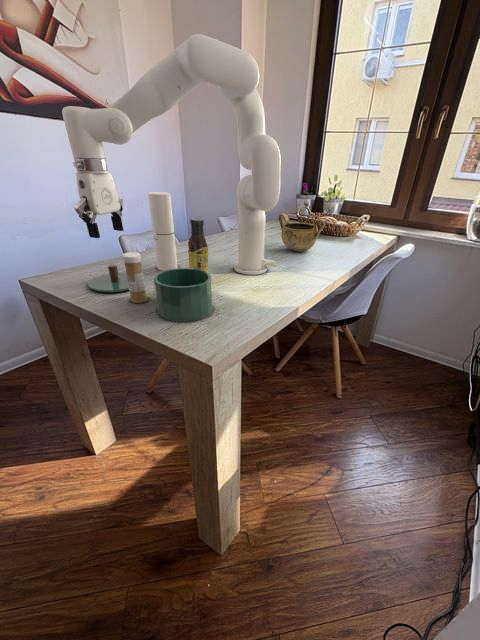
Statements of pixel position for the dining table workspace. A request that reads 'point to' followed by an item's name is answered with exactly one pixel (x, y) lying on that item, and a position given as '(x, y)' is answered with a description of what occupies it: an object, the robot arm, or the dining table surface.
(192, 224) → the sauce bottle
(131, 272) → the sprinkles bottle
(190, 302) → the canister
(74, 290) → the dining table surface
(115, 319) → the dining table surface
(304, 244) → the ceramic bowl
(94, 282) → the lid
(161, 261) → the cylindrical container
